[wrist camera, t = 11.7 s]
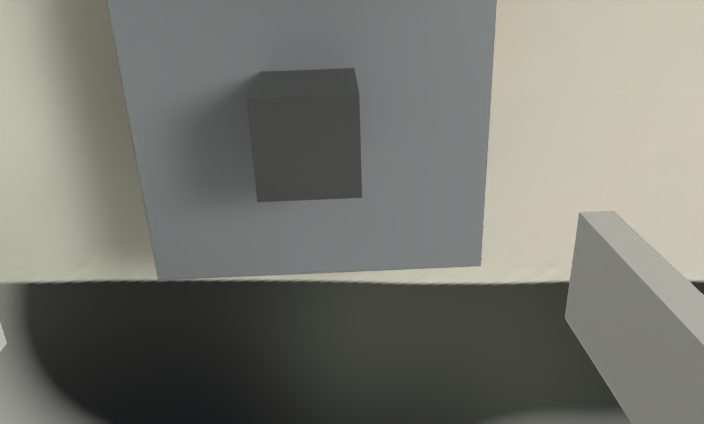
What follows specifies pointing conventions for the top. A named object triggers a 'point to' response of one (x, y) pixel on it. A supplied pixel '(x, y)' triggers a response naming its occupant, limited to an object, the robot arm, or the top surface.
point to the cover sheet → (393, 126)
